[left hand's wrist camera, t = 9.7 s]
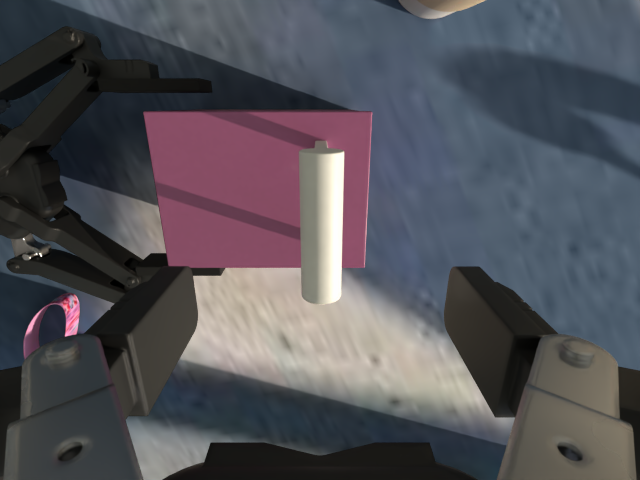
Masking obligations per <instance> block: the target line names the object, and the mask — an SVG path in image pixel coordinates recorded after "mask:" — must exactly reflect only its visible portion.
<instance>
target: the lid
mask: <svg viewBox="0 0 640 480" xmlns="http://www.w3.org/2000/svg"><path fill="white" fill-rule="evenodd" d="M143 114H144V120H145V126H146V132H147V138H148V144H149V150H150V156H151V162H152V168H153V175H154V181H155V187H156V193H157V199H158V205H159V211H160V217H161V223H162V229H163V235H164V241H165V248H166V254H167V260H168V266H189V267H190V268H301V282H302V297H303V298H304V299H305V300H306V301H307V302H310V303H313V304H330V303H333V302H335V301H337V300H338V299H339V298H340V296H341V271H342V268H364V267H365V249H366V228H367V208H368V187H369V167H370V146H371V125H372V112H371V111H144V112H143Z"/></svg>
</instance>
